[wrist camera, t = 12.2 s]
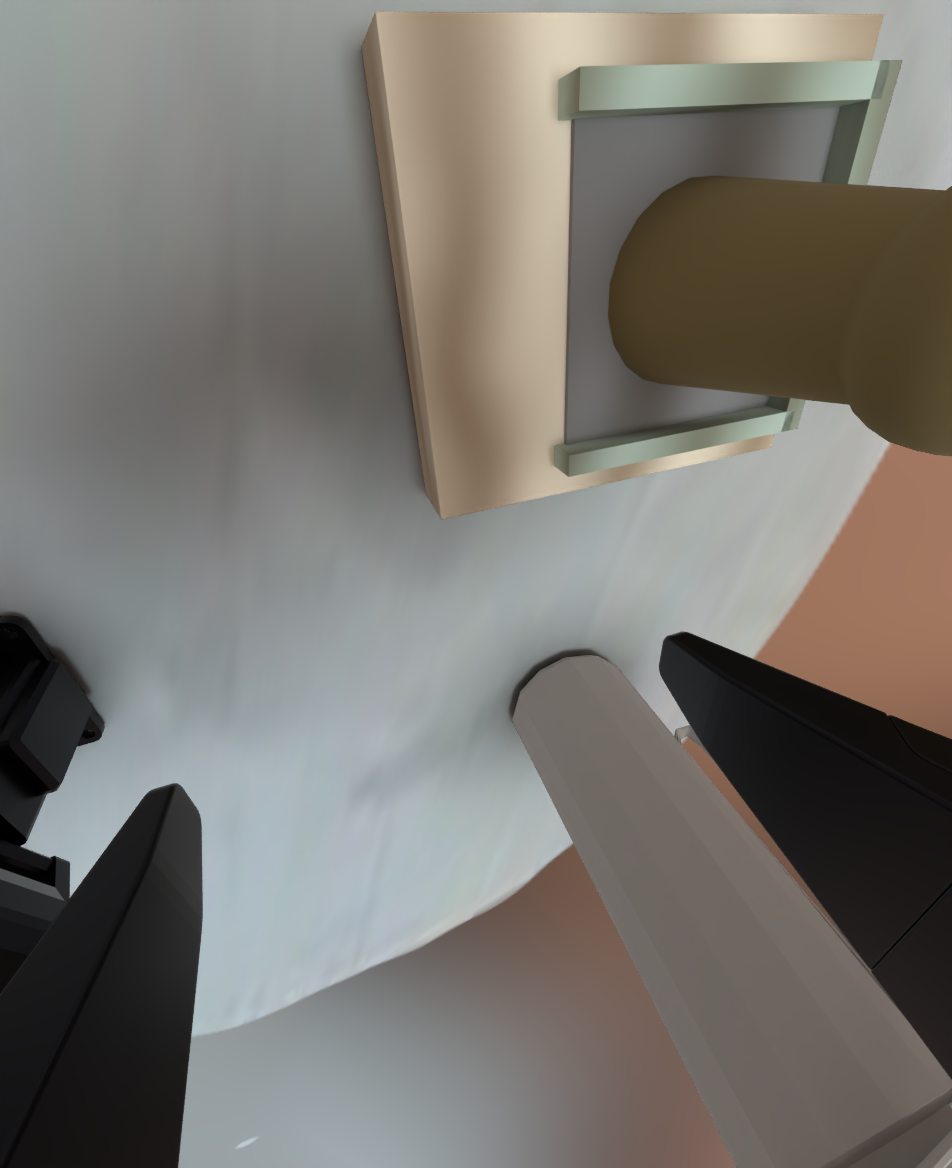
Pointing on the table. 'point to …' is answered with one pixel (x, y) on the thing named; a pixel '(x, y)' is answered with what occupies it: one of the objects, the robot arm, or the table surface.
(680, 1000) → the water bottle
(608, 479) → the dock
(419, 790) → the table surface
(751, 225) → the cork
